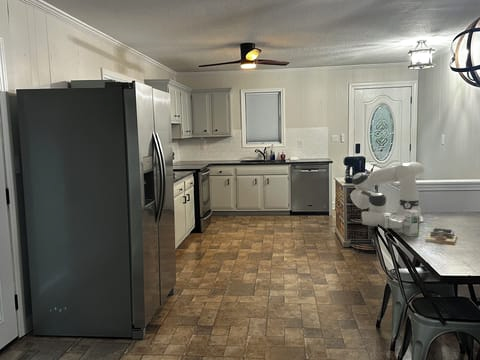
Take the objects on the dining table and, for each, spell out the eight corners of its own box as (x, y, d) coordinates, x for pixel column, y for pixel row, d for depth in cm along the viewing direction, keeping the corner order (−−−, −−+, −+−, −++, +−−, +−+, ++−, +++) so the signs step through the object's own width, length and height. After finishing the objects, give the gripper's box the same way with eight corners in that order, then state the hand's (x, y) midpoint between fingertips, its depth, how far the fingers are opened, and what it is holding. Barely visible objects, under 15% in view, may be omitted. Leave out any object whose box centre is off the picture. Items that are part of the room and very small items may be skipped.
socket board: (429, 234, 244) (430, 224, 243) (456, 237, 237) (457, 227, 236) (425, 241, 229) (425, 231, 228) (454, 244, 222) (454, 234, 221)
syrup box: (410, 236, 239) (411, 211, 237) (403, 234, 245) (404, 209, 243) (418, 235, 241) (419, 210, 239) (412, 233, 246) (412, 209, 245)
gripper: (391, 222, 258) (416, 224, 251) (384, 228, 240) (410, 231, 233) (392, 211, 257) (416, 213, 250) (384, 218, 240) (410, 220, 232)
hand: (413, 222), depth 241 cm, fingers closed on syrup box, 8 cm apart
